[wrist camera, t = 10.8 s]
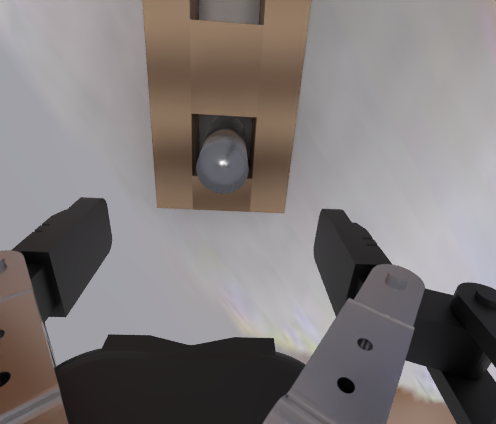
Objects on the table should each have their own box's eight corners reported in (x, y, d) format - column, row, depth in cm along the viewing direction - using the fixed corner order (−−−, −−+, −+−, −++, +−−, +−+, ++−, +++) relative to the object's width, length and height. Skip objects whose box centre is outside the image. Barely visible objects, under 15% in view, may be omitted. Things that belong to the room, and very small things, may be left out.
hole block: (155, -107, 20) (131, -155, 15) (308, -91, 21) (328, -134, 16) (169, 184, 29) (157, 207, 24) (276, 189, 29) (284, 213, 25)
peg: (209, 114, 26) (195, 142, 17) (245, 116, 26) (250, 144, 17) (209, 149, 27) (196, 192, 18) (243, 150, 28) (247, 194, 19)
